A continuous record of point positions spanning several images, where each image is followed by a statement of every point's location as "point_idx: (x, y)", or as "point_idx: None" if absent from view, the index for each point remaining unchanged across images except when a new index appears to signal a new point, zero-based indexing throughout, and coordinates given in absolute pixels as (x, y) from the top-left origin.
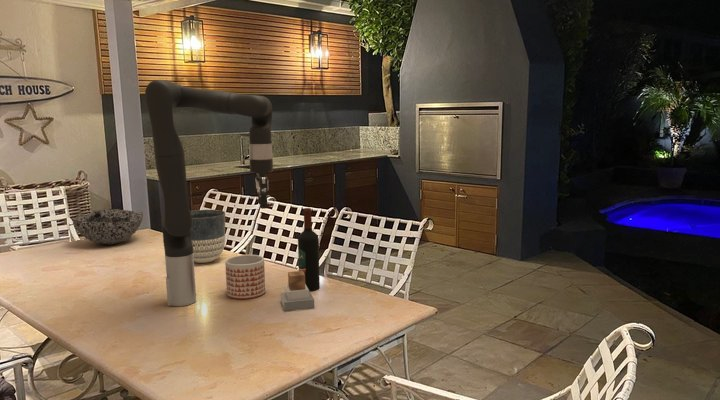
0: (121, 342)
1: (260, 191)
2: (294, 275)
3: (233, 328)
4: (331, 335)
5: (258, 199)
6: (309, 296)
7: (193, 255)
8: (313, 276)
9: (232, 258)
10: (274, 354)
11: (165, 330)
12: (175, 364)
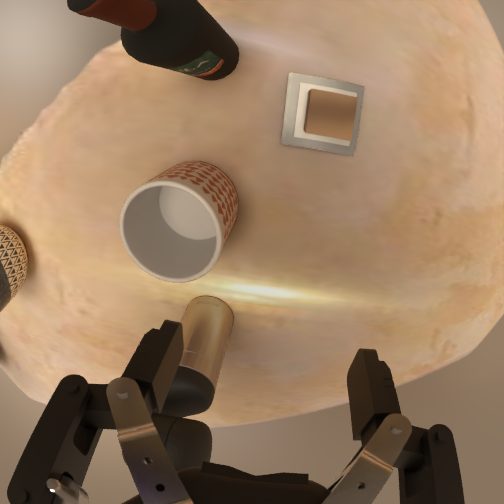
0: (339, 381)
1: (424, 480)
2: (349, 127)
3: (382, 263)
4: (485, 126)
5: (173, 377)
6: (338, 87)
7: (25, 276)
8: (231, 43)
9: (138, 258)
10: (491, 231)
11: (330, 345)
12: (438, 337)
